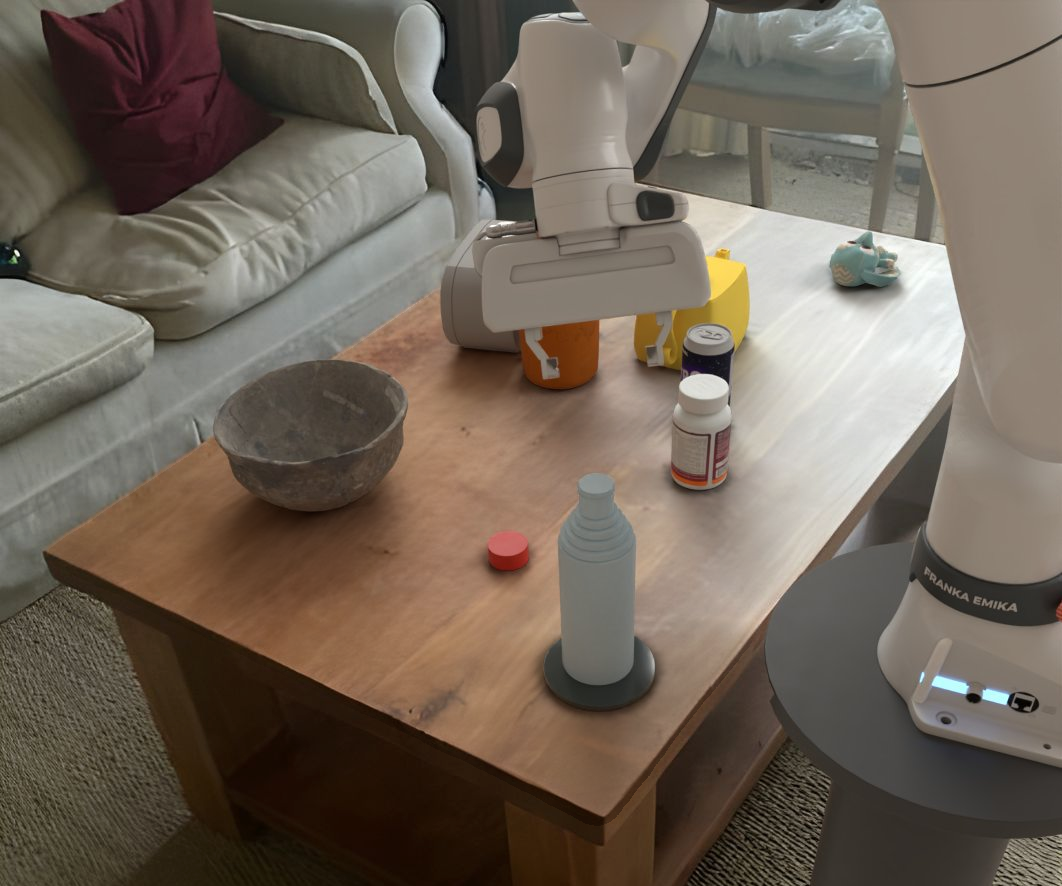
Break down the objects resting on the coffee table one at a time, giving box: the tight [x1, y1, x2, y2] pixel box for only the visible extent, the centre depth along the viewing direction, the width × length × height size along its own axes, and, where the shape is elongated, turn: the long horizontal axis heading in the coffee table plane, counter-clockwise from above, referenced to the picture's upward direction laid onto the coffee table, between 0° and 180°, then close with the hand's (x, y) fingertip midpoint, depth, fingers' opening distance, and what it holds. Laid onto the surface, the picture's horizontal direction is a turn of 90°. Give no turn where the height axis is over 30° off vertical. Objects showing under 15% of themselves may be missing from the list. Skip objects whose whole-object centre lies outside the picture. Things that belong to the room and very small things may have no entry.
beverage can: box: [680, 323, 735, 408], centre depth 124 cm, size 6×6×12 cm
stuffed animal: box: [828, 230, 901, 288], centre depth 152 cm, size 11×7×12 cm
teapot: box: [633, 247, 751, 372], centre depth 139 cm, size 20×12×12 cm, turn 150°
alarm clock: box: [439, 218, 521, 354], centre depth 143 cm, size 21×10×13 cm, turn 164°
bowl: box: [212, 358, 409, 512], centre depth 119 cm, size 21×21×10 cm
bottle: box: [557, 472, 637, 685], centre depth 92 cm, size 6×6×20 cm
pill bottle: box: [670, 374, 733, 491], centre depth 117 cm, size 6×6×11 cm
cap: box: [487, 530, 530, 571], centre depth 110 cm, size 4×4×2 cm
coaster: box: [543, 635, 656, 712], centre depth 98 cm, size 10×10×1 cm
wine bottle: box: [519, 231, 600, 390], centre depth 128 cm, size 10×10×30 cm
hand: (603, 372), depth 99 cm, fingers open, 8 cm apart
